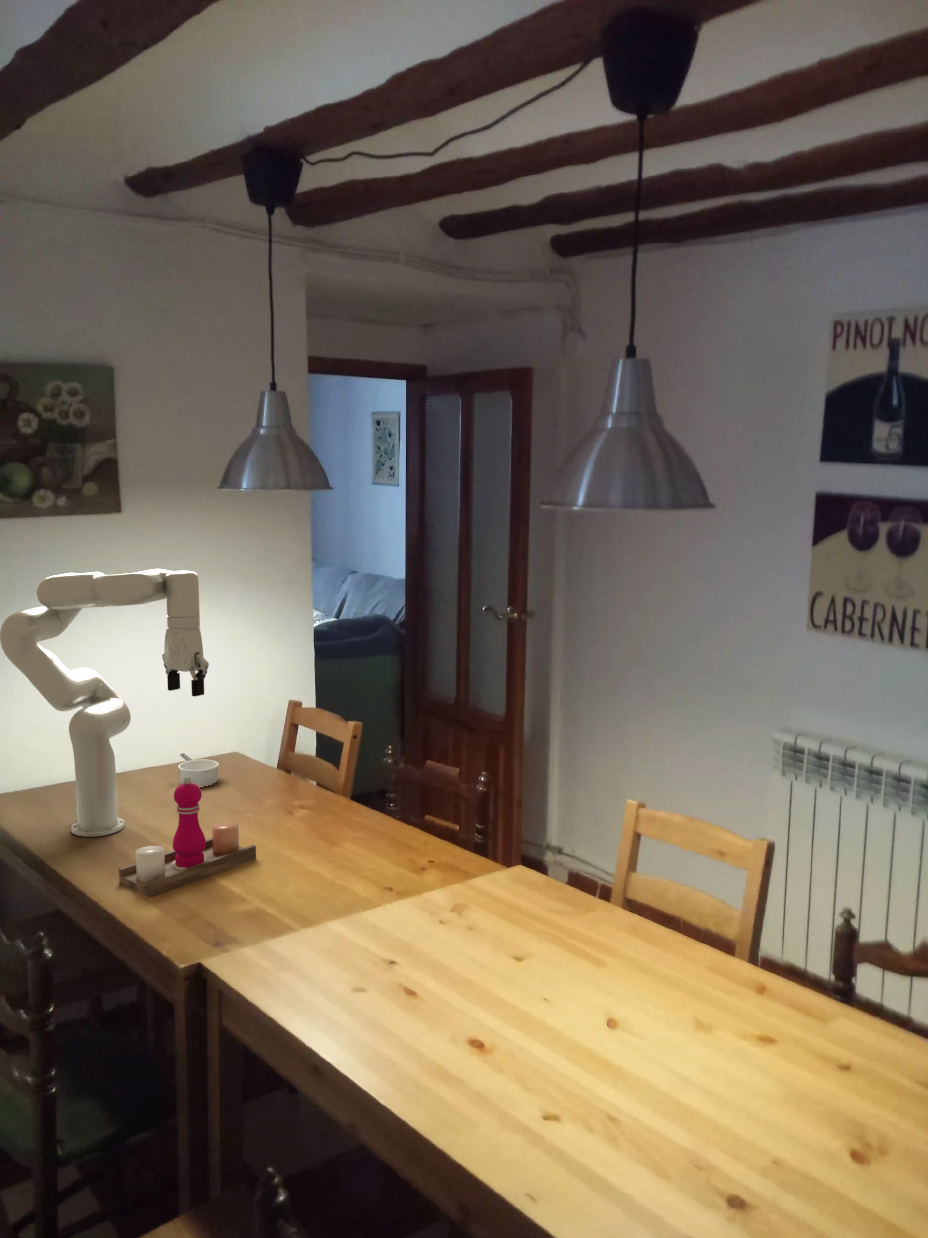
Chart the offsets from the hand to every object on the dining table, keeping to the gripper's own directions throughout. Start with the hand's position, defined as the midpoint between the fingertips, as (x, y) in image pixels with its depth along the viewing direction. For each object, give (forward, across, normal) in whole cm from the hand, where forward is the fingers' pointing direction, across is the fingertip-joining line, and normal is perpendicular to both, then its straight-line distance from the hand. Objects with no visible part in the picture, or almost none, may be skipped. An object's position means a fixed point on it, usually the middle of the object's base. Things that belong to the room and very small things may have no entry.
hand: (185, 692), depth 242 cm
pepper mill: (+35, +18, -13) cm, 41 cm away
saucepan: (+37, -38, +28) cm, 60 cm away
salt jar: (+35, +18, -23) cm, 45 cm away
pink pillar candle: (+35, +18, -3) cm, 39 cm away
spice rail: (+36, +18, -13) cm, 43 cm away
